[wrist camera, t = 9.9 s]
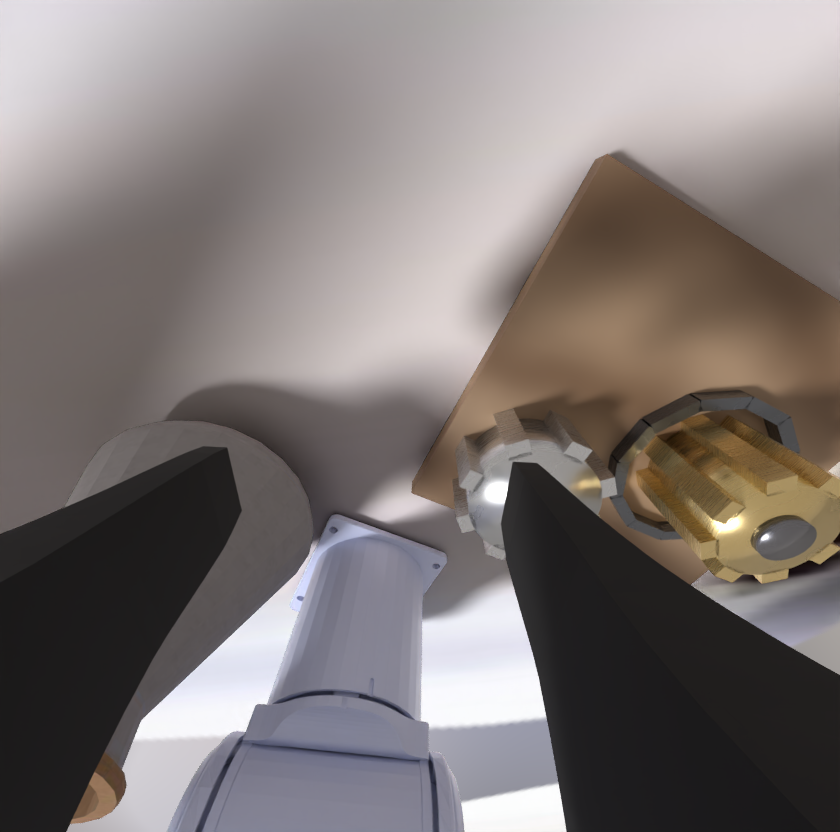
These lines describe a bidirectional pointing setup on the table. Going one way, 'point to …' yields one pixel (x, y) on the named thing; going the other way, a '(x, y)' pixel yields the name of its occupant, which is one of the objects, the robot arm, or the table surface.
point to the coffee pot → (227, 579)
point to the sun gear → (522, 442)
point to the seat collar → (672, 414)
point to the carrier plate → (650, 340)
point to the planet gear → (742, 499)
